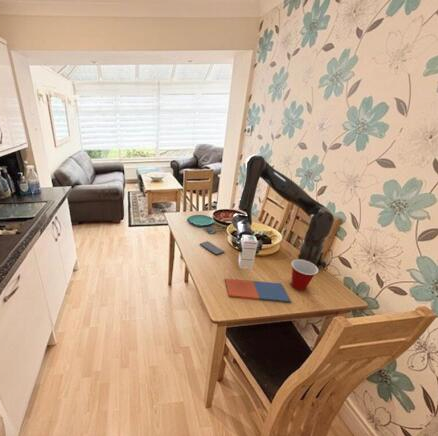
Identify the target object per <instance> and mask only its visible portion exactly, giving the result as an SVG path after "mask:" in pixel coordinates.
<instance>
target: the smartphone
mask: <svg viewBox="0 0 438 436" xmlns="http://www.w3.org/2000/svg"><path fill="white" fill-rule="evenodd" d="M199 245H200V246H201V247H203V248H204V249H205V250H207V251H209V252H210V253H212V254H214V256H218V255H221V254H224V253H225V250H223V249H221V248H220V247H218V246H217V245H215V244H213V243H212V242H210V241H208V240H206V241H204V242H200V243H199Z"/></svg>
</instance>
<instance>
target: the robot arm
mask: <svg viewBox="0 0 438 436" xmlns="http://www.w3.org/2000/svg"><path fill="white" fill-rule="evenodd" d="M245 167H246V171H245V173H246V174H245V180H244V184H243V187H242V191H241V194H240V198H239V201H238V202H239V203H238V207H237V208H238V210H240V211H242V212H243V213H246V214H242V213H235V214H233V216H232V218H231V224H232V226H233V227H234V228H235V230H236V237H235V236H233V235H232V236H231V238H230V243H231V245H232V247H233V248H237V251H238V252H239V253H240V252H242V245H241V241H242V235H253V236H255V235H254V232H253V229H252V225H253V216H252V214H253V206H254V202H255V199H256V192H257V187H258V184H259V182H260V178H261V179H262V180H263V181H264V182H265V183H266V184H267V185H268V186H269V187H270V188H271V189H272V190H273V191H274V192H275V193H276V194H277V195H279V196H280V197H281V198H282V199H283V200H285V201H286V202H288V203H290V204H292V205H294V206H296V207H298V208H299V209H301V211H303V212H304V213H305V214H306V215H307V216H308V217H309V219H310V222H309V225H308V229H306V230H305V234H304V237H303V240H302V243H301V245H300V246H301V247H300V250H299V253H298V255H297V259H296V260H298V259H299V260H305V261H309V262H311V263H313V264H314V265H315V266H317V268H318V269H319V267H321V268H322V269H324V268H326V267H327V263H326V262H325V260H324V259H323V256H324V253H323V250H324V248H325V247H324V246H325V244H326V240H327V238H328V237H329V235H330V233H331V231H332V228H333V225H334V222H335V215H334V214H333V213H332V211H331V209H330V208H329V207H327V206H325V205H324V204H322V203H321V202H319V201H317V200H315V199H314V198H313V197H311V195H309V194H308V193H307V192H306V190H304V188H302V187H301V186H300V185H298V183H296V182H295V181H294V180H292V179H291V178H289V177H288V176H286V175H285V174H284V173H281V172H280V171H279V170H277V169H275V168H274V167H273V166H272V165H271V164H270V163H268V162H267V160H266V159H265V157H263V155H260V154H252V155H250V156H248V158H246V161H245ZM257 242H258V243H257V248H256V254H255V255H258V254H259V253H260V251H262V250H263V240H262V239H259V240H257Z"/></svg>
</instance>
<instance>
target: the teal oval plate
mask: <svg viewBox="0 0 438 436" xmlns="http://www.w3.org/2000/svg"><path fill="white" fill-rule="evenodd" d="M213 219H214V218H213V217H211V216H208V215H205V214H194V215H189V216H188V217H187V218H186V220H187V221H188V222H189V223H190V224H191V225H195V226H196V227H203V230H205V232H207V234H215V233H216V232H222V231H226V230H227V229H226V228H224V226H218V225H215V224H216V221H215V222H214V221H213ZM212 225H215V226H212ZM207 226H209V227H207ZM218 229H219V230H218Z"/></svg>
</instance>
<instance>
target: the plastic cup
mask: <svg viewBox="0 0 438 436" xmlns="http://www.w3.org/2000/svg"><path fill="white" fill-rule="evenodd" d="M297 259H298V258H297ZM297 259H293V260H291V263H290V265H291V286H292V288H294V289H295V290H298V291H305V290H306V289H307V288H308V286H309V284H310V283H311V281H312V280H313V278H314V277H315V275H317V274H318V273H319V267H318V268H317V266H315V265H314V264H313V263H311V262H309V261H305V260H299V259H298V260H297Z"/></svg>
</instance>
